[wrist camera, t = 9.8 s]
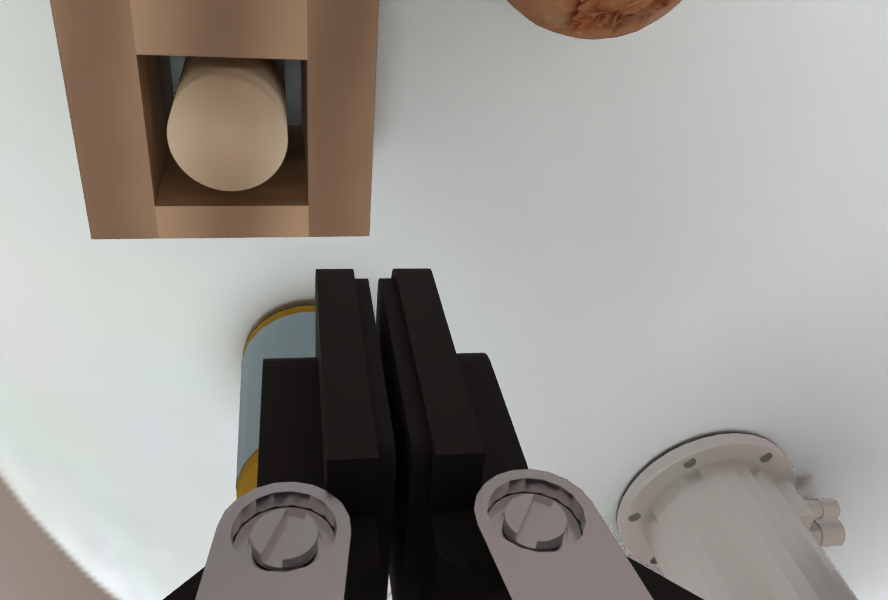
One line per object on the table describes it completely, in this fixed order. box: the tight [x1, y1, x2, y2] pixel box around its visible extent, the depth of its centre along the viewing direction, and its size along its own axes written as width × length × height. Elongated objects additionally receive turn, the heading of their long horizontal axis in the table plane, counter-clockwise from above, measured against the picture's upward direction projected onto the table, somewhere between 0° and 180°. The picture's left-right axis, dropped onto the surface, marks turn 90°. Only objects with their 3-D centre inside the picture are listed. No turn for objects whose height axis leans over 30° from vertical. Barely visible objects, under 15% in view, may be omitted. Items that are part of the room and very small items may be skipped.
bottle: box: [236, 306, 392, 600], centre depth 37 cm, size 7×7×15 cm
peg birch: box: [167, 56, 288, 191], centre depth 30 cm, size 4×4×8 cm
